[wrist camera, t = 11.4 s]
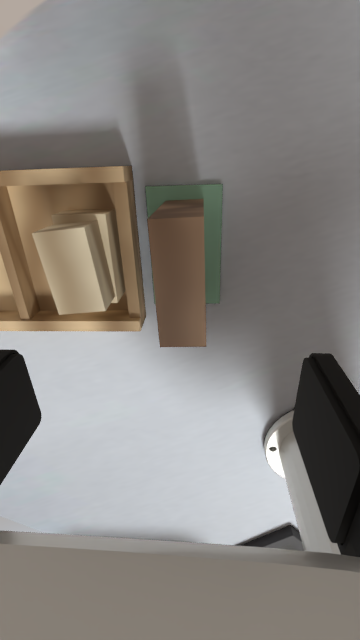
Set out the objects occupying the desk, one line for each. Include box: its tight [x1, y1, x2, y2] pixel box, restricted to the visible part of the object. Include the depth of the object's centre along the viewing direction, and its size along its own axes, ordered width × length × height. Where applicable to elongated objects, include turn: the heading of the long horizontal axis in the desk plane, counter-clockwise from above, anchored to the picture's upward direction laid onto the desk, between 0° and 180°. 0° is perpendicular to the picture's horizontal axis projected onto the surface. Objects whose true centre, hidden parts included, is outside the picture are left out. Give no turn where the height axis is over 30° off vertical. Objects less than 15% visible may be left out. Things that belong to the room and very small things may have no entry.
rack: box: [0, 166, 146, 331], centre depth 26 cm, size 17×13×3 cm
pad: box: [145, 184, 223, 304], centre depth 26 cm, size 6×10×1 cm, turn 2°
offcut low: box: [51, 209, 125, 303], centre depth 25 cm, size 4×7×3 cm, turn 2°
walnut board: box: [147, 199, 206, 347], centre depth 22 cm, size 3×8×9 cm, turn 3°
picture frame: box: [241, 525, 304, 551], centre depth 48 cm, size 13×2×18 cm
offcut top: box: [32, 220, 115, 315], centre depth 22 cm, size 4×6×3 cm, turn 7°
